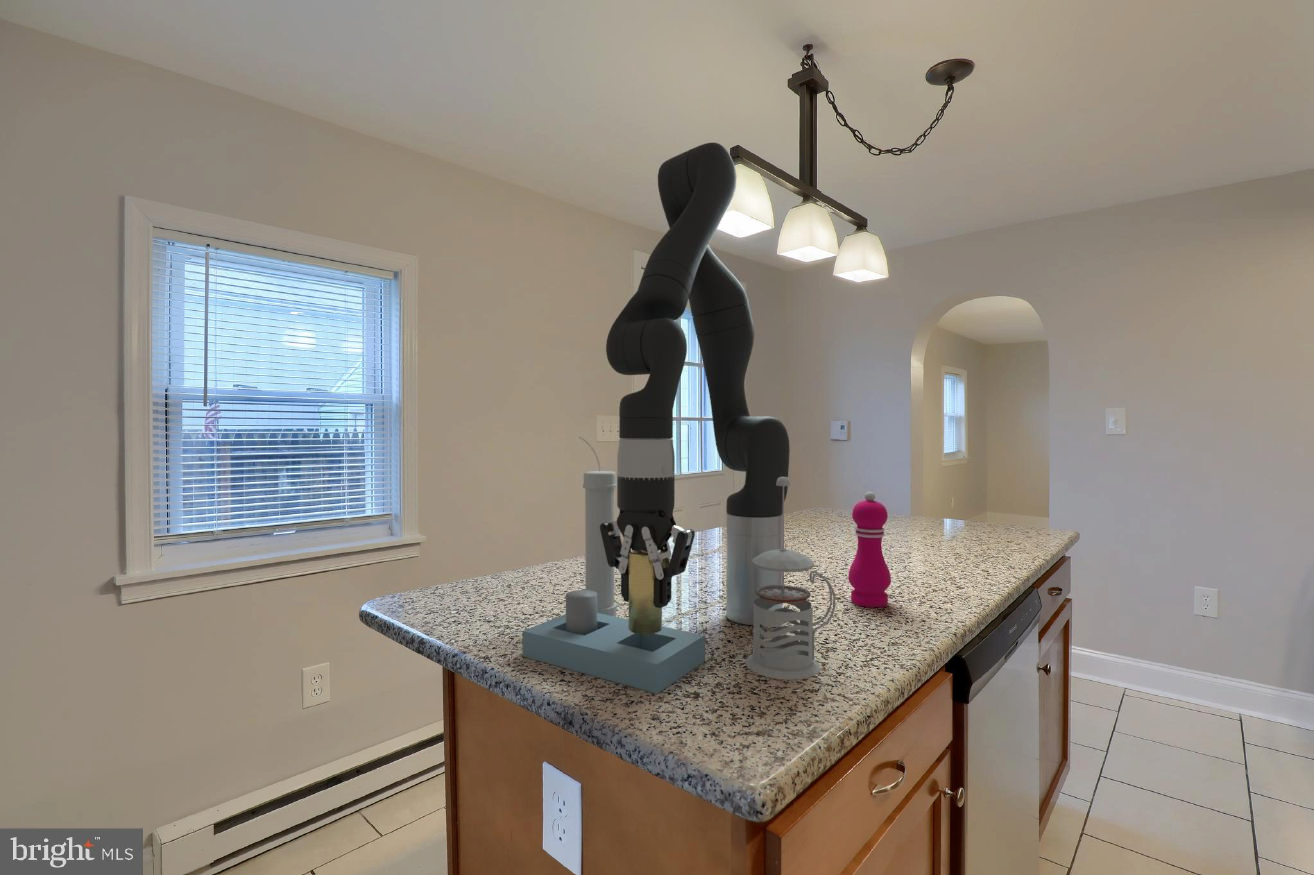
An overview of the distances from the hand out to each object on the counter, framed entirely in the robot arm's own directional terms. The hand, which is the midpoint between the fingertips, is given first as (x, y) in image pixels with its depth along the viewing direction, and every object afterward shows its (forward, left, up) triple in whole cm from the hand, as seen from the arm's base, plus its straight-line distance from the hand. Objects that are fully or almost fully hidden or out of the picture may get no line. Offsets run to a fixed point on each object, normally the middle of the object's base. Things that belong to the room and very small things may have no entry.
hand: (645, 602), depth 80 cm
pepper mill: (-46, +18, -9) cm, 50 cm away
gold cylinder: (0, 0, -3) cm, 3 cm away
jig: (0, -5, -8) cm, 10 cm away
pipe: (-12, -17, -9) cm, 23 cm away
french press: (-11, +16, -9) cm, 21 cm away
